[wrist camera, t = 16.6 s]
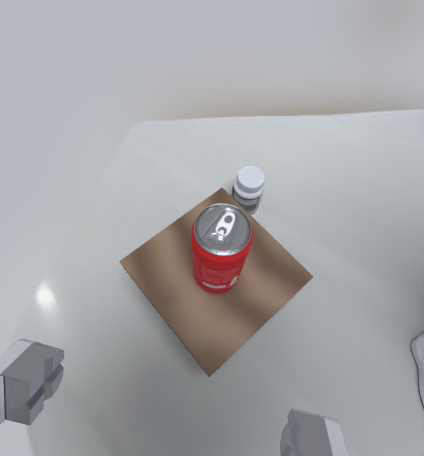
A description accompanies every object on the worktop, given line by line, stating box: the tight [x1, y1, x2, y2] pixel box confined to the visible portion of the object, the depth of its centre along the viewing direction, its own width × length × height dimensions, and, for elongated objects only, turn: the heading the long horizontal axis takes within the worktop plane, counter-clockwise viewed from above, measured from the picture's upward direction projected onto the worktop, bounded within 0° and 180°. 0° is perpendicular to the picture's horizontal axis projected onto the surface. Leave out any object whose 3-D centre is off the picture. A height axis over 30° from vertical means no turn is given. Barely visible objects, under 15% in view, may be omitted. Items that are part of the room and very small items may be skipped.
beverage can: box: [191, 203, 253, 293], centre depth 31 cm, size 5×5×12 cm
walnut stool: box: [119, 188, 313, 377], centre depth 41 cm, size 16×16×11 cm
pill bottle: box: [231, 166, 265, 215], centre depth 49 cm, size 5×5×8 cm
